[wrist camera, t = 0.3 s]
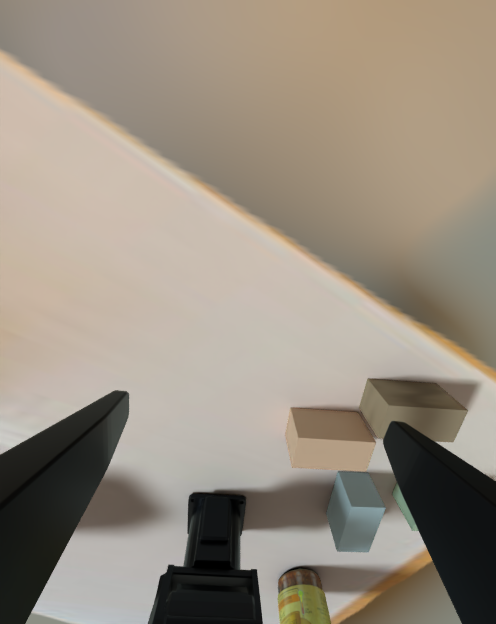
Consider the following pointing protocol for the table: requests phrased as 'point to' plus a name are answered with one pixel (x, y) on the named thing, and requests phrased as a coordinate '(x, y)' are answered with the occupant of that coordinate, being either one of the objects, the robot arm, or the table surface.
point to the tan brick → (328, 440)
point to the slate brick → (354, 511)
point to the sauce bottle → (302, 598)
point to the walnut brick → (412, 408)
